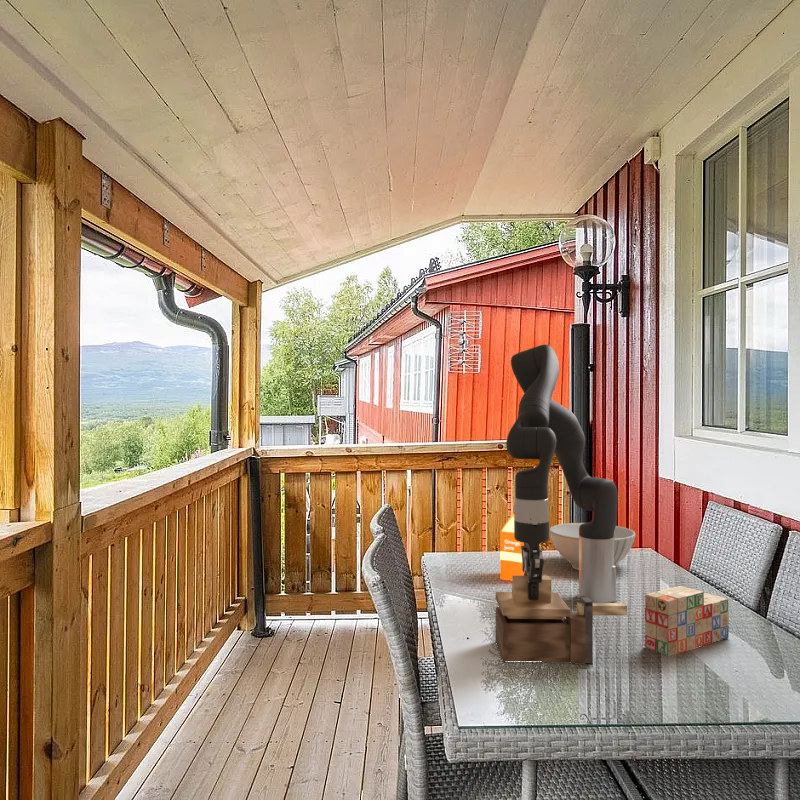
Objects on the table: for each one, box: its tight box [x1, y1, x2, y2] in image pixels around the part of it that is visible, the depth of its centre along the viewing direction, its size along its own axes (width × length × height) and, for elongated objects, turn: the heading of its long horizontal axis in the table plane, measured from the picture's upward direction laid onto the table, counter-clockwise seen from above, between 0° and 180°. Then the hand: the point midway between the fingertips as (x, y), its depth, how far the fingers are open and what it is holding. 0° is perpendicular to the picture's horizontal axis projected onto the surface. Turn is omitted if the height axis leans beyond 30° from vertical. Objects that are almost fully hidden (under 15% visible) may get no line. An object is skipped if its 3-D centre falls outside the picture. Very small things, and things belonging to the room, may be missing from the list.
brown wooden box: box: [495, 596, 594, 665], centre depth 150 cm, size 18×13×13 cm
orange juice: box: [499, 513, 524, 582], centre depth 212 cm, size 8×9×20 cm
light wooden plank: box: [576, 602, 628, 616], centre depth 146 cm, size 10×2×2 cm, turn 90°
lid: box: [495, 575, 571, 619], centre depth 151 cm, size 14×12×8 cm
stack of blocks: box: [644, 585, 730, 657], centre depth 156 cm, size 21×6×12 cm, turn 121°
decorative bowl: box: [549, 522, 636, 571], centre depth 224 cm, size 27×27×12 cm
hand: (531, 597), depth 151 cm, fingers closed on lid, 3 cm apart
